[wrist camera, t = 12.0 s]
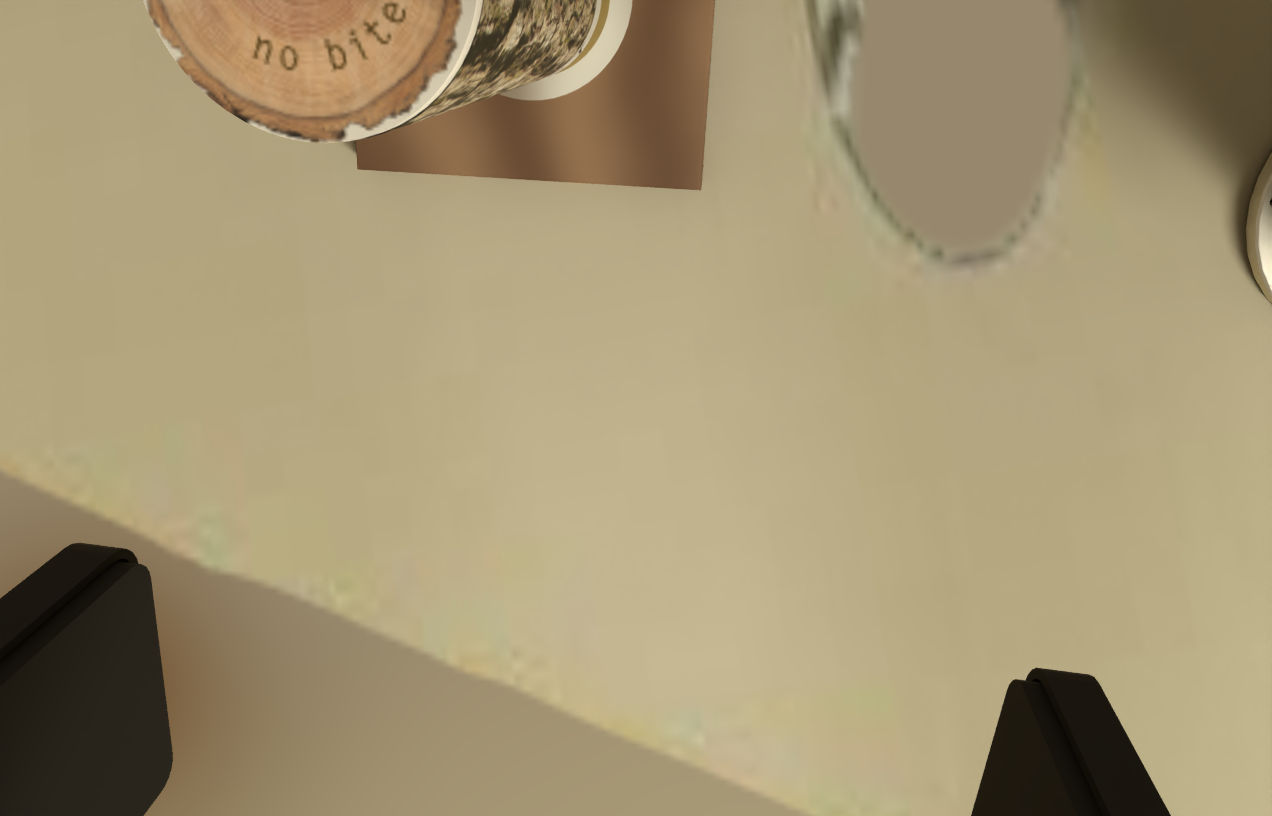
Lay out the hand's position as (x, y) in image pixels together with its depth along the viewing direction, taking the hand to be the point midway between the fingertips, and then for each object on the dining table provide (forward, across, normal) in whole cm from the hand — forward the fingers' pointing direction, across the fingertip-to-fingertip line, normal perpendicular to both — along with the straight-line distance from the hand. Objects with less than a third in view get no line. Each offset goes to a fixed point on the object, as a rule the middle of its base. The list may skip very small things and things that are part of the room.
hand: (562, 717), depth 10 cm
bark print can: (+36, +8, -7) cm, 38 cm away
